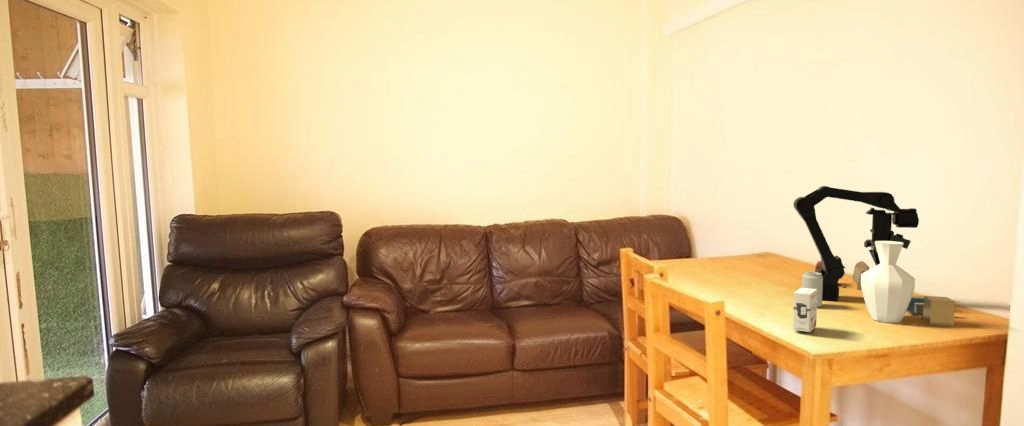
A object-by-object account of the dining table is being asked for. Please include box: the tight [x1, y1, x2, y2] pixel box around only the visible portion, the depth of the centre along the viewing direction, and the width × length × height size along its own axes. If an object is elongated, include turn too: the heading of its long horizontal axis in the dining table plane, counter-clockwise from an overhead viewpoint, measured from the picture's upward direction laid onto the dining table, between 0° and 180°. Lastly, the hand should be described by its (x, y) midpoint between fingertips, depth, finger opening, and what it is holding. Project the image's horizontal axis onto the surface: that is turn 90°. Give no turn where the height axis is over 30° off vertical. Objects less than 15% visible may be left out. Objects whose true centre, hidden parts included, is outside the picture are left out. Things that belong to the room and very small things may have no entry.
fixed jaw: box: [914, 303, 924, 314], centre depth 180 cm, size 10×2×3 cm, turn 71°
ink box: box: [792, 287, 818, 333], centre depth 167 cm, size 8×5×12 cm, turn 140°
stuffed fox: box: [814, 260, 847, 288], centre depth 222 cm, size 8×11×12 cm
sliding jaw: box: [908, 296, 924, 308], centre depth 188 cm, size 18×2×3 cm, turn 71°
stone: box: [852, 260, 870, 291], centre depth 222 cm, size 19×10×4 cm
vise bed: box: [906, 307, 923, 317], centre depth 187 cm, size 11×16×1 cm
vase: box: [861, 241, 916, 324], centre depth 176 cm, size 14×14×25 cm
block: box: [922, 295, 956, 328], centre depth 171 cm, size 6×6×8 cm
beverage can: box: [801, 271, 823, 309], centre depth 194 cm, size 6×6×12 cm
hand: (879, 270), depth 197 cm, fingers closed
